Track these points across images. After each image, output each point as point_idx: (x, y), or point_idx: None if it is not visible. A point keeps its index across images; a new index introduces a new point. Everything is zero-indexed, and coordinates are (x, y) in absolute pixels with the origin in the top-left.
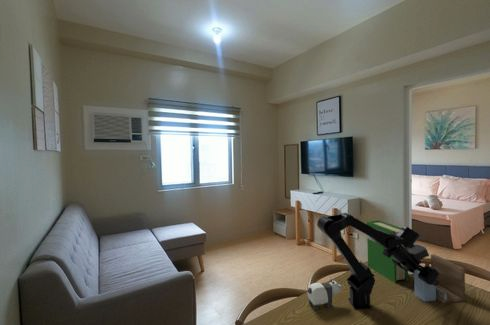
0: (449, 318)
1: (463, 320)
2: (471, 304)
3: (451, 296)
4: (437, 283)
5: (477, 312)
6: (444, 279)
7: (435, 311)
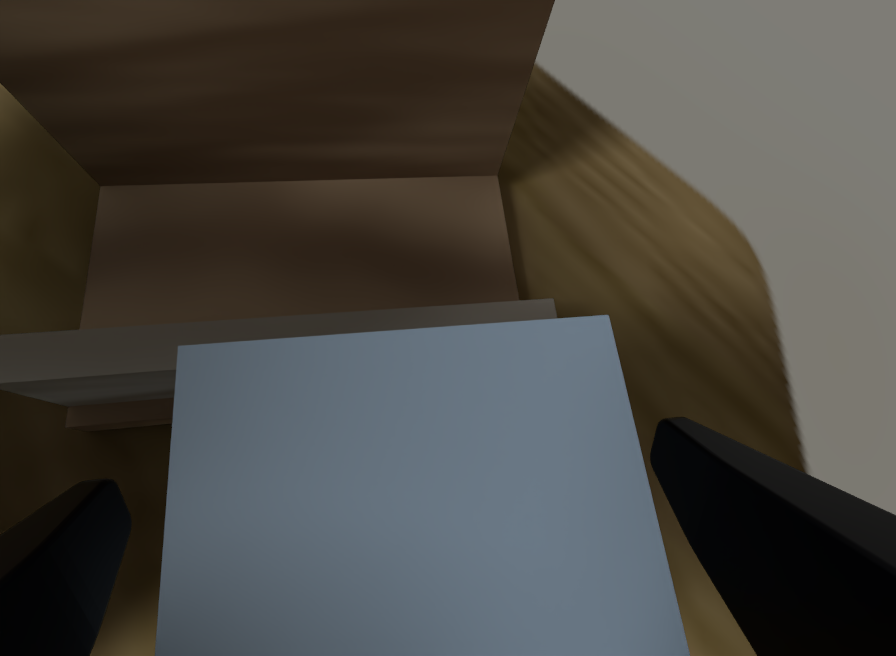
0: None
1: (796, 416)
2: (545, 159)
3: (460, 235)
4: (717, 440)
5: (658, 209)
6: (274, 93)
7: (689, 600)
